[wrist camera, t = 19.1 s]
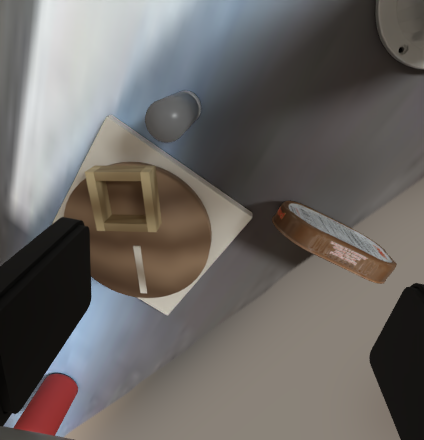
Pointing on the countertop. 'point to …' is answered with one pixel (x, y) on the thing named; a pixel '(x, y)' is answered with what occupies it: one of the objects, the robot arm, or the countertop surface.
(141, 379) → the countertop surface
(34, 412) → the beer can
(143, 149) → the dial base
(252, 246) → the countertop surface
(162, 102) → the grey rounded cylinder
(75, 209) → the dial
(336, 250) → the tin
